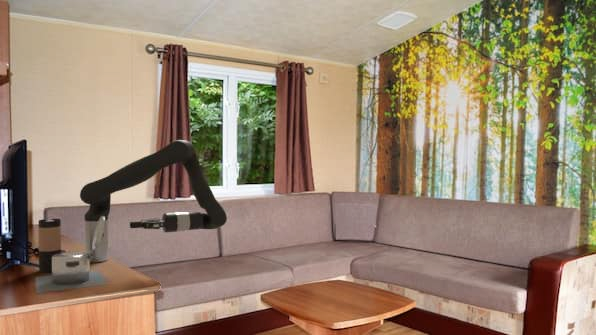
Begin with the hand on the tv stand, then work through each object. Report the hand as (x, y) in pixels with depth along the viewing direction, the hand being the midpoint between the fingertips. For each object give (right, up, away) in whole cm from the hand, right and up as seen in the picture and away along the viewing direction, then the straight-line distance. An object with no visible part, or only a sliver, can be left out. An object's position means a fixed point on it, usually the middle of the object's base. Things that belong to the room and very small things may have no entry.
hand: (130, 225), depth 176 cm
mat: (-18, -19, -9) cm, 28 cm away
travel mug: (-32, -19, +4) cm, 37 cm away
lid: (-10, -3, -6) cm, 12 cm away
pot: (-18, -18, -9) cm, 27 cm away
